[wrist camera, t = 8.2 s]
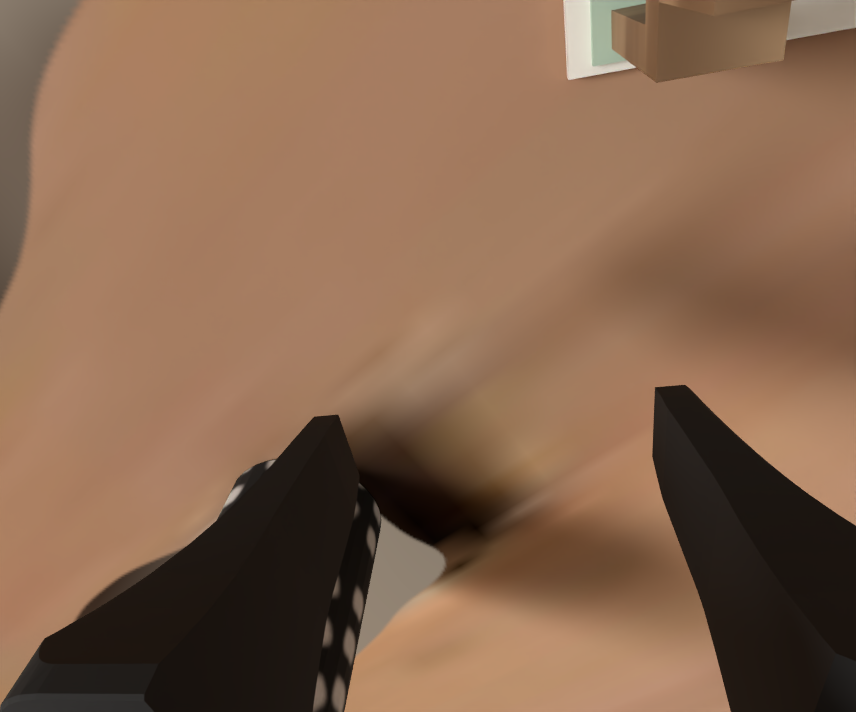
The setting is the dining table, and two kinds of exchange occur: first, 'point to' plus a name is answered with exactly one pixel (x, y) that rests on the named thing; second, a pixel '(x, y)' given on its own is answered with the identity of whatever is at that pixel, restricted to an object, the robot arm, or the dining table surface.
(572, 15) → the buzz wire board
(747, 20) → the stepped wooden block
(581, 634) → the dining table surface
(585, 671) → the dining table surface
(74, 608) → the dining table surface
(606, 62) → the end pad
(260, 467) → the white-spotted black cylinder
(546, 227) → the dining table surface
